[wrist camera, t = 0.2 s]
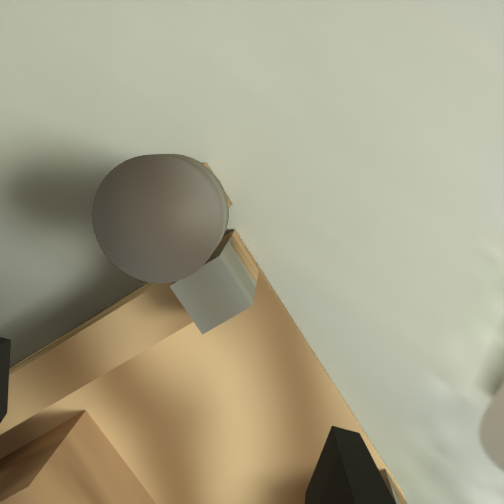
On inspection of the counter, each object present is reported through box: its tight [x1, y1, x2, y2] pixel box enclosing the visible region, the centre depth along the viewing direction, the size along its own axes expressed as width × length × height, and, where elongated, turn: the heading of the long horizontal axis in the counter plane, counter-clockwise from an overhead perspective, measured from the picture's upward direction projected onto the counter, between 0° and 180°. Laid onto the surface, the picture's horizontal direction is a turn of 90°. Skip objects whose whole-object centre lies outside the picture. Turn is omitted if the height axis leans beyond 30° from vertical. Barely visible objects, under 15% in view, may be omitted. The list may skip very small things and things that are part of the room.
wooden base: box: [0, 154, 407, 504], centre depth 19 cm, size 19×19×7 cm
